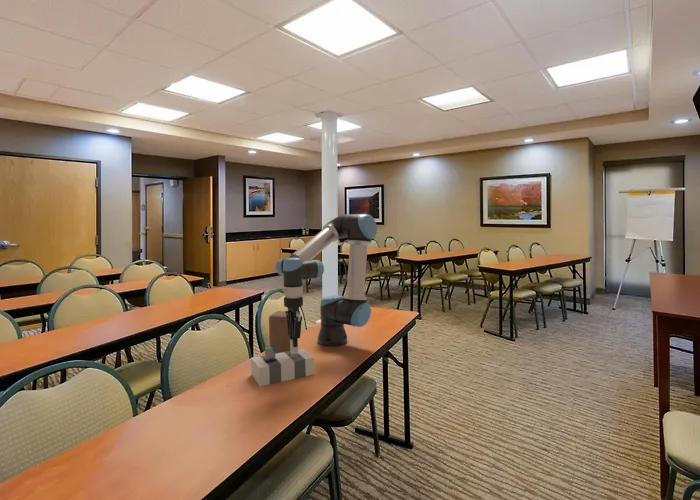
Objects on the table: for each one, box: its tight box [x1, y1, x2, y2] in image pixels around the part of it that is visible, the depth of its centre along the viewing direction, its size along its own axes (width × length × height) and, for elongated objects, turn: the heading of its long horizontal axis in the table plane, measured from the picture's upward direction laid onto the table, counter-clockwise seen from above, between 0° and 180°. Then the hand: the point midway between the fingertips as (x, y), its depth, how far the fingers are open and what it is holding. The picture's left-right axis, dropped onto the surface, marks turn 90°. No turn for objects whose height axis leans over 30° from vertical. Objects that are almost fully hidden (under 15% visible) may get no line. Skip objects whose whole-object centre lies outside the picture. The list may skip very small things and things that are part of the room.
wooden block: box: [268, 310, 290, 354], centre depth 173 cm, size 10×10×20 cm
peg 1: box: [264, 345, 276, 363], centre depth 151 cm, size 4×4×7 cm
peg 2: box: [289, 354, 299, 358], centre depth 156 cm, size 4×4×7 cm
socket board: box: [250, 348, 315, 387], centre depth 153 cm, size 22×12×7 cm, turn 119°
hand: (294, 353), depth 155 cm, fingers closed
